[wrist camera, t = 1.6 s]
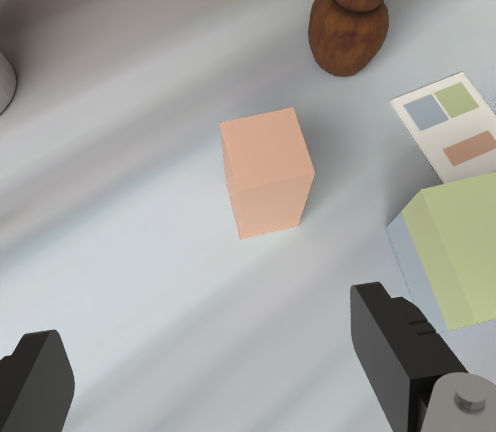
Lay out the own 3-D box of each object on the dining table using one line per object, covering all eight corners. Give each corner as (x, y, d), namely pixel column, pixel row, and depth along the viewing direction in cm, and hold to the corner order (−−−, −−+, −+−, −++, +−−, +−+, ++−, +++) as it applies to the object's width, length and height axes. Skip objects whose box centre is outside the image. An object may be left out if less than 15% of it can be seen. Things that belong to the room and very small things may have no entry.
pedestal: (385, 228, 37) (420, 189, 29) (485, 204, 38) (544, 160, 30) (426, 336, 34) (477, 323, 26) (534, 307, 35) (613, 287, 27)
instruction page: (389, 101, 41) (390, 99, 41) (461, 73, 42) (463, 71, 42) (448, 191, 38) (450, 190, 38) (525, 157, 39) (527, 156, 39)
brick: (226, 185, 38) (219, 122, 29) (282, 173, 39) (293, 107, 29) (240, 239, 37) (237, 190, 27) (298, 225, 37) (315, 172, 28)
